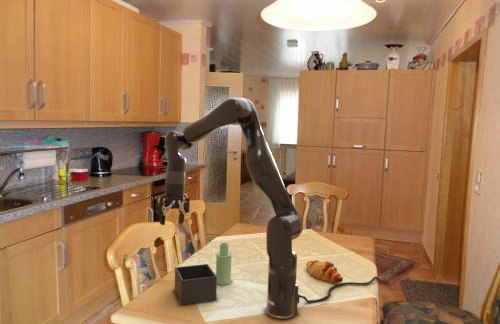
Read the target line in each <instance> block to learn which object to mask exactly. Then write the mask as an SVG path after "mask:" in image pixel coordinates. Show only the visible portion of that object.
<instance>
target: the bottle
mask: <svg viewBox="0 0 500 324" xmlns="http://www.w3.org/2000/svg"><path fill="white" fill-rule="evenodd" d="M215 257H216V258H215V260H216V261H215V275H216V276H217V284H218V285H222V286H223V285H225V286H227V285H229V284H230V283H231V282H232V281H231V280H232V253H231V252H229V243H227V242H221V243H220V244H219V252H217V253H216V255H215Z"/></svg>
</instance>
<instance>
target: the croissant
mask: <svg viewBox="0 0 500 324" xmlns="http://www.w3.org/2000/svg"><path fill="white" fill-rule="evenodd" d="M305 265H306V269H307V271H308V272H309V273H310V275H311V276H312V277H315V278H316V279H319V280H323V281H327V282H330V283H335V284H339V283H342V282H343V280H344V278H343V276H341V273H339V271H338V269H337V267H335V265H334V263H333V262H331V261H329V260H308V261H306V264H305Z"/></svg>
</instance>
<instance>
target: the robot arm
mask: <svg viewBox="0 0 500 324" xmlns="http://www.w3.org/2000/svg"><path fill="white" fill-rule="evenodd" d="M229 125H230V126H231V125H232V126H239V127H240V129H241V130H242V133H243V137H244V139H245V145H246V147H245V164H246V168H247V171H248V173H249V175H250V178H251V180H252V182H253V184H254V185H255V186H256V188H257V189H258V190H259V191H260V192H261V193H262V194H263V195H264V196H265V197H266V199H267V200H268V201H269V204H270V205H271V207H272V209H273V212H274V216H272V217H271V218H270V219H269V220H268V222H267V225H266V231H265V232H266V234H265V235H266V238H265V239H266V240H265V241H266V255H267V256H268V265H267V270H268V271H267V293H266V297H267V298H266V309H265V310H266V311H265V312H266V314H267V315H268V316H269V317H271V318H274V319H277V320H289V319H291V318H293V317H294V316H295V315H298V305H299V304H300V298H301V299H303V300H304V301H305V302H306V303H309V304H311V303H319V302H323V301H325V300H327V299H329V298H330V297H331V292H332V290H333V289H335V288H337V287H339V286H340V287H341V286H346V285H358V286H360V285H361V286H365V285H370V284H371V283H372V282H374V281H375V280H380V278H379V277H378V276H374V277H373V278H371V279H370V280H369V281H366V282H356V281H355V282H353V281H352V282H351V281H350V282H349V281H348V282H339V283H336V284H334V285H332V286H331V287H329V289H328V291H327V292H328V293H327V295H326V296H324V297H321V298H319V299H313V300H309V299H307V297H306V296H304V295H301V294H300V293H299V286H298V285H297V272H298V270H297V269H298V255H297V253H296V252H295V251H293V241H294V240H296V239H298V238H299V237H300V236H301V235H302V233H303V228H304V225H303V221H302V218H301V216H300V215H299V213H298V211H297V209H296V207H295V205H294V204H293V201H292V200H291V197H290V196H289V193H288V191H287V188H286V187H285V184H284V181H283V179H282V177H281V175H280V172H279V169H278V167H277V164H276V162H275V159H274V157H273V155H272V152H271V150H270V148H269V147H270V146H269V144H268V142H267V140H266V137H265V135H264V132H263V130H262V125H261V122H260V119H259V116H258V111H257V109H256V107H255V104H254V102H252V100H250V99H248V98H246V97H229V98H227V99H225V100H224V101H223V102H221V103H220V104H219V105H218V106H217V107H216V108H214V109H213V110H212V111H210V112H209V113H208V114H206V115H204V116H203V117H201V118H199V119H197V120H195V121H193V122H192V123H190V124H188V125H186V126H185V127H184V128H183V131H179V130H169V131H168V132H167V133H166V135H165V138H164V147H165V153H166V157H167V166H166V167H167V168H166V174H165V182H164V191H163V193H164V197H160V196H158V197H156V203H155V211H154V212H155V213H156V214H157V215H159V221H158V222H159V224H160V225H161V226H165V225H166V216H167V213H168V212H169V211H170V210H173V209H175V210H177V212H178V220H177V221H178V222H177V224H179V225H183V224H184V222H185V215H186V214H188V213H190V203H191V202H190V200H191V198H189V197H184V195H185V186H186V167H187V159H186V157H185V156H184V155H181V154H180V151H187V150H190V149H191V148H193V147H194V145H196V144H197V142H200V141H202V140H204V139H207V138H208V137H210V136H211V135H212V134H213V133H214V131H216V130H217V129H219V128H222V127H225V126H229ZM179 150H180V151H179Z"/></svg>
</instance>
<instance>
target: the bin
mask: <svg viewBox="0 0 500 324" xmlns="http://www.w3.org/2000/svg"><path fill="white" fill-rule="evenodd" d="M174 292H175V294H176V296H177V299H178V301H179V303H180V306H187V305H192V304H193V305H194V304H200V303H208V302H214V301H217V276H216V273H215V272H214V271H213V269H212V268H211V266H210V265H209V264H208V263H204V264H203V263H202V264H195V265H185V266H177V267H174Z"/></svg>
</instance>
